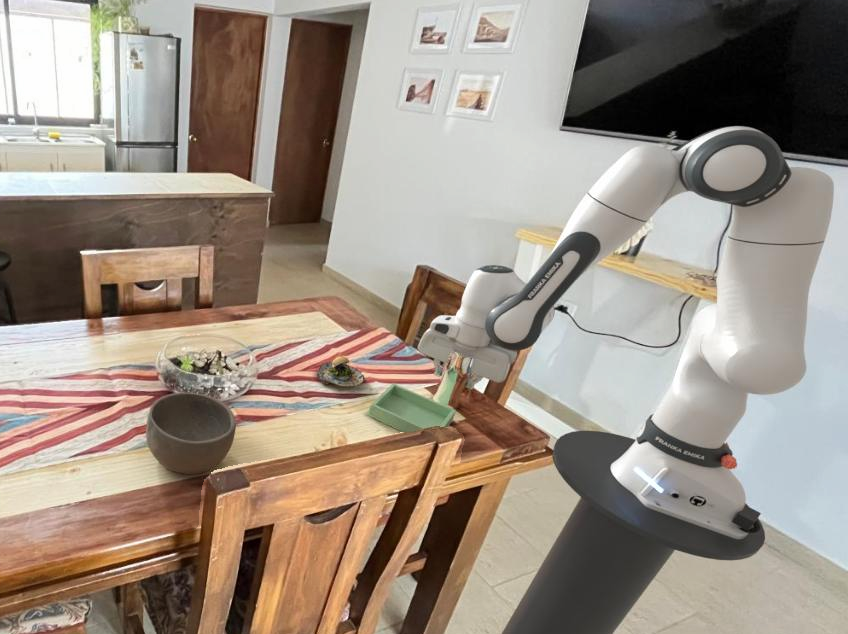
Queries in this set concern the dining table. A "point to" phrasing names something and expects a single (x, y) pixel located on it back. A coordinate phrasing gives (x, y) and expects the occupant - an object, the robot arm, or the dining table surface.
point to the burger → (340, 373)
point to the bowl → (190, 432)
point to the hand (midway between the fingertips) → (453, 381)
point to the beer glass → (454, 379)
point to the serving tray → (409, 410)
